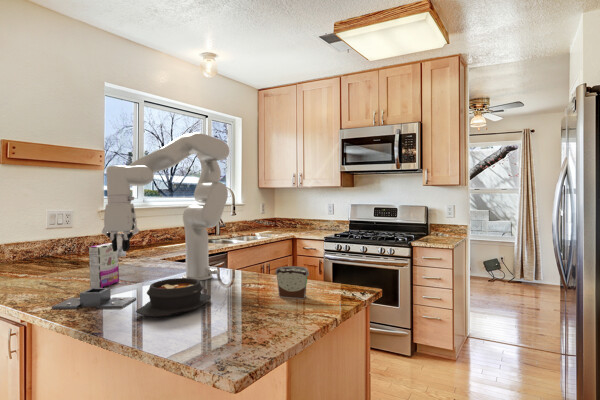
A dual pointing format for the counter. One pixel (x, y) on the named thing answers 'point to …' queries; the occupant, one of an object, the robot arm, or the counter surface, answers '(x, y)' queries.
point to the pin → (120, 245)
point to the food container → (292, 281)
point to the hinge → (95, 300)
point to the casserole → (173, 297)
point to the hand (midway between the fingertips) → (121, 250)
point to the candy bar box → (103, 266)
